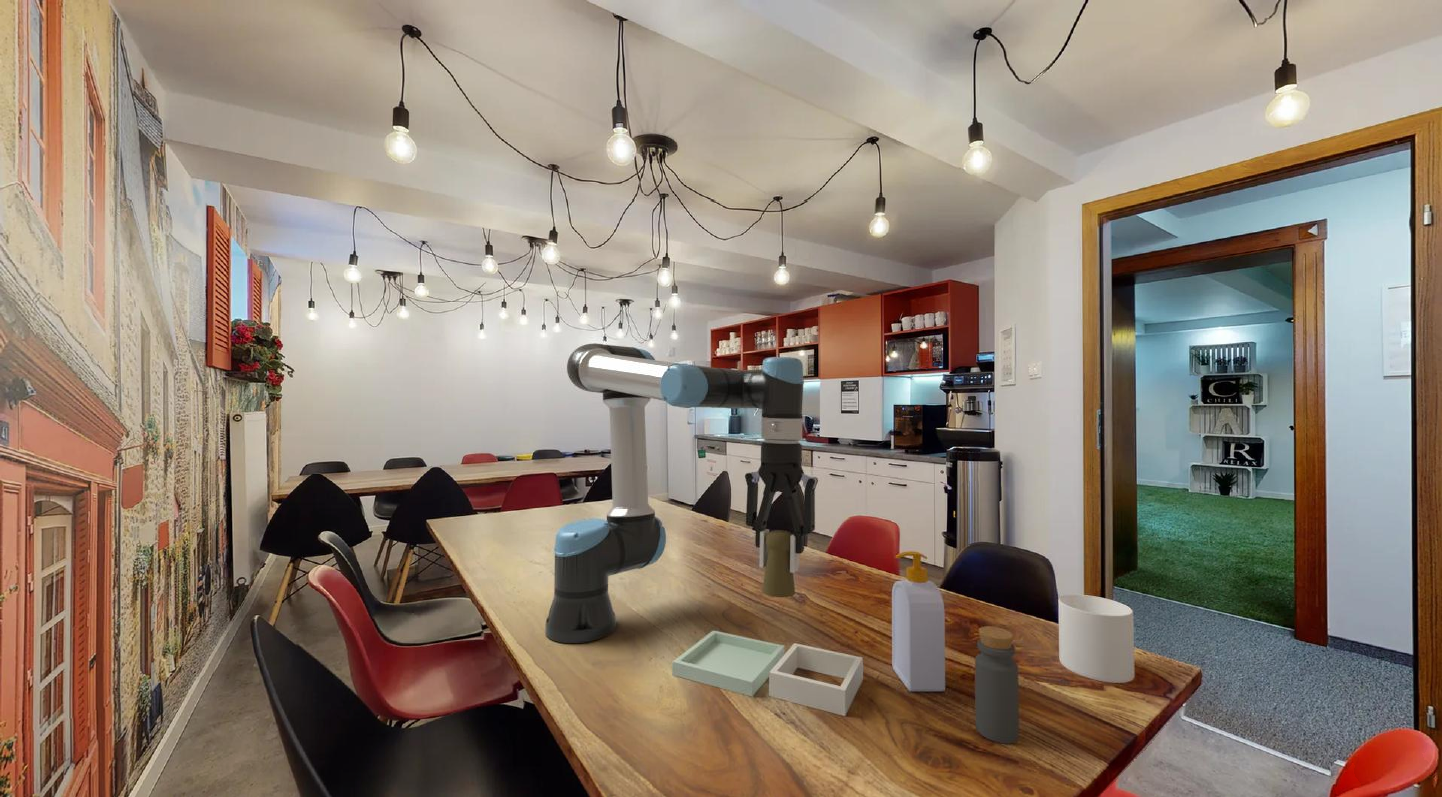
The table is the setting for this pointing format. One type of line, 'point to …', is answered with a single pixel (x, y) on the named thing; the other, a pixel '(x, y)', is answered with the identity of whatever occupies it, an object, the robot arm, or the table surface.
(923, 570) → the soap bottle
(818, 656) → the frame
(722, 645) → the tray
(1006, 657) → the bottle
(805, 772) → the table surface
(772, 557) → the cork
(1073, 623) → the cup
